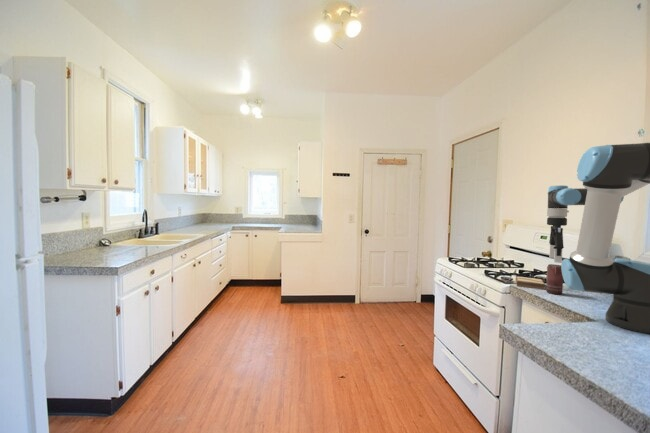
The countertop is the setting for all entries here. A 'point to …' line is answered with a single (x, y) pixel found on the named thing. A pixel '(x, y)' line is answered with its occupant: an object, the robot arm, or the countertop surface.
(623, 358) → the countertop surface
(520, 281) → the stand
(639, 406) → the countertop surface
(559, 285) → the can
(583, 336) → the countertop surface
